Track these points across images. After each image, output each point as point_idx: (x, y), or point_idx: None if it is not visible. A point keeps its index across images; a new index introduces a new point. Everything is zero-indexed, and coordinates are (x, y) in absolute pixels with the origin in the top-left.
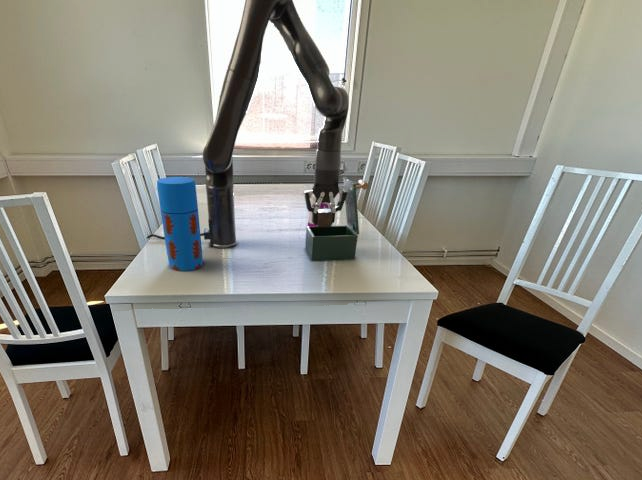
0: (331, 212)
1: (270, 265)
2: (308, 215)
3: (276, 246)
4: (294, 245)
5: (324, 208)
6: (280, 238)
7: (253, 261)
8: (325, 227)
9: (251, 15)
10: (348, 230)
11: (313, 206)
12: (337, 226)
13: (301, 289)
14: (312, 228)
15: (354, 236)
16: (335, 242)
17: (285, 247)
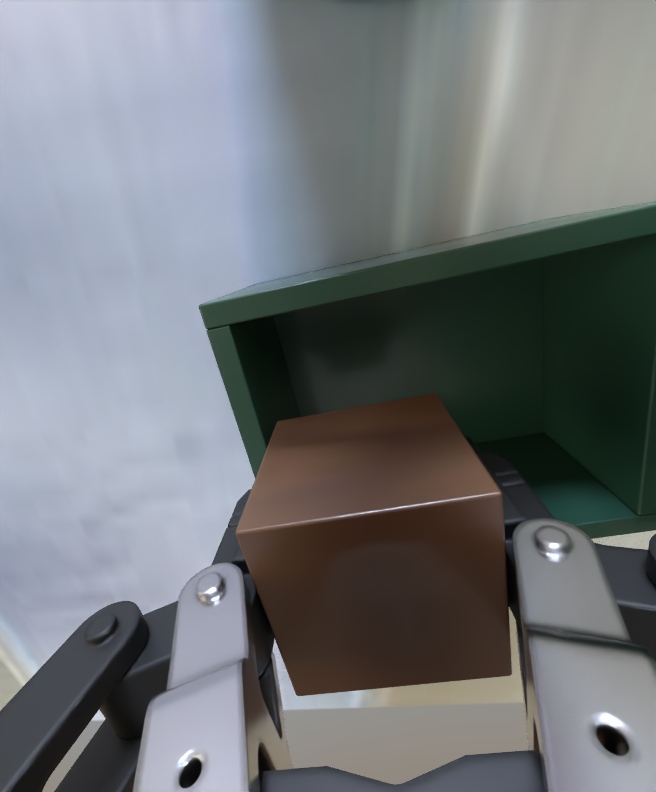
0: (492, 675)
1: (117, 540)
2: None
3: (47, 254)
4: (166, 213)
5: None
6: (2, 17)
7: (22, 504)
8: (405, 287)
9: None
10: (642, 326)
11: (178, 659)
12: (550, 255)
13: (282, 702)
14: (266, 316)
15: (625, 531)
16: None
17: (114, 268)
